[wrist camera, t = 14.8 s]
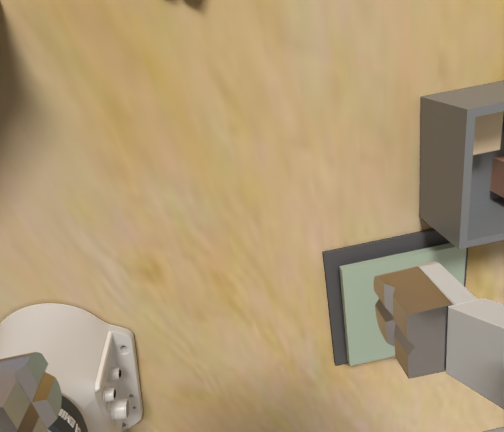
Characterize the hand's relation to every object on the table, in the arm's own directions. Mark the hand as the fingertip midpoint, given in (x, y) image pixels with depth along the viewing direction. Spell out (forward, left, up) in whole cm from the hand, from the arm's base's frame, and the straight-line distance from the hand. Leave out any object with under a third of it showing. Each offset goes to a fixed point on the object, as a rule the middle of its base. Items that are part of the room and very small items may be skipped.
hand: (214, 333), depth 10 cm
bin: (-10, -29, -33) cm, 45 cm away
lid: (-28, -19, -32) cm, 47 cm away
